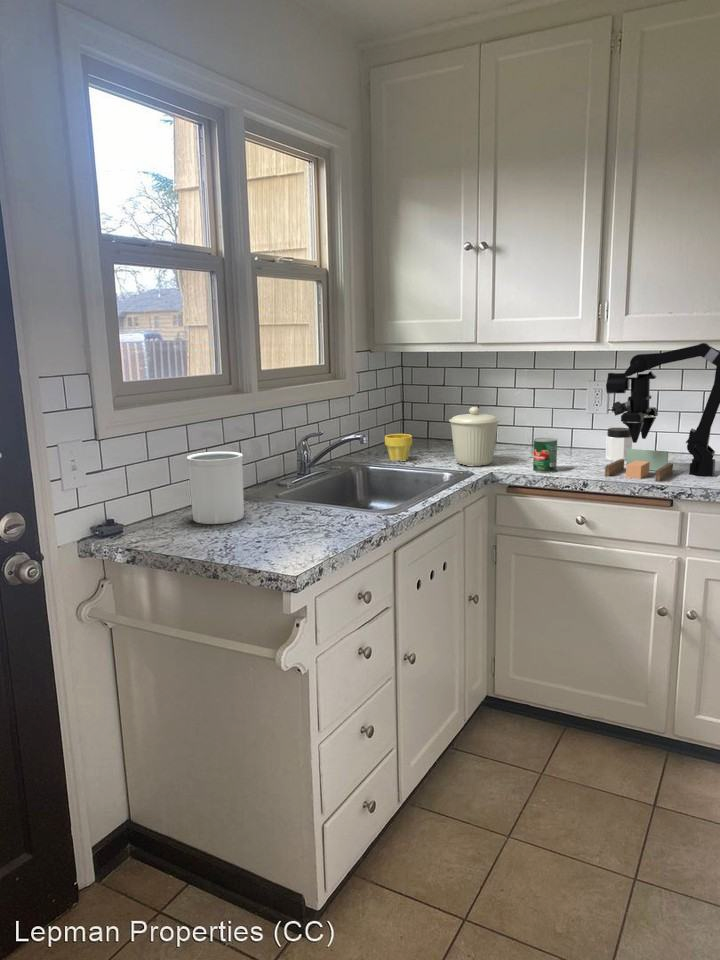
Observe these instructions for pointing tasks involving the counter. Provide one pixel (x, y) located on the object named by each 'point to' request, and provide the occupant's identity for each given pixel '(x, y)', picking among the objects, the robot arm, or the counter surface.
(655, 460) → the pale green rectangular block
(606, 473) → the brown wooden tray
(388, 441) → the plant pot
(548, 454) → the canned tomato
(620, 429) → the jar
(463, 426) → the canister
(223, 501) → the utensil holder
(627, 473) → the peach rectangular block
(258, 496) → the counter surface
